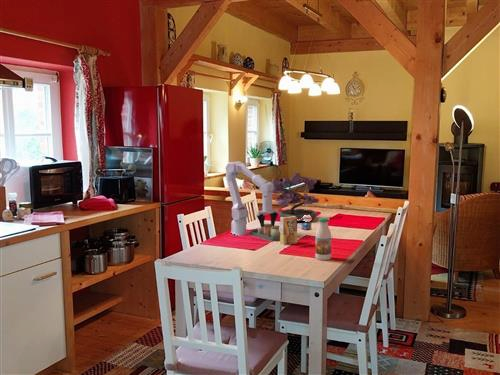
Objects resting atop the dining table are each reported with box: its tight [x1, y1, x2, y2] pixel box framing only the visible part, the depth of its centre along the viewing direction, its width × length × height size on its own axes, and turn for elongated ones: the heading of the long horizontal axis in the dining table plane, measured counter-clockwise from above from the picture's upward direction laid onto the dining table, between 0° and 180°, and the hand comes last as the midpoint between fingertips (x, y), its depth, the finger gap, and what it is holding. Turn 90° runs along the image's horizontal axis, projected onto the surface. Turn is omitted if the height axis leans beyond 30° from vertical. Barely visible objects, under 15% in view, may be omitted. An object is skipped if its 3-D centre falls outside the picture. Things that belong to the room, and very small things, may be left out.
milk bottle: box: [314, 217, 332, 261], centre depth 236 cm, size 8×8×20 cm
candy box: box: [279, 216, 298, 246], centre depth 265 cm, size 9×4×15 cm, turn 116°
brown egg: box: [271, 225, 280, 237], centre depth 277 cm, size 5×5×7 cm
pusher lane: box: [249, 227, 280, 242], centre depth 282 cm, size 22×12×4 cm, turn 36°
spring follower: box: [257, 226, 264, 235], centre depth 288 cm, size 4×6×4 cm, turn 126°
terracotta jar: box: [264, 223, 272, 237], centre depth 282 cm, size 5×5×7 cm
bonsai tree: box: [271, 172, 320, 221], centre depth 335 cm, size 35×27×32 cm
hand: (267, 226), depth 282 cm, fingers open, 7 cm apart
